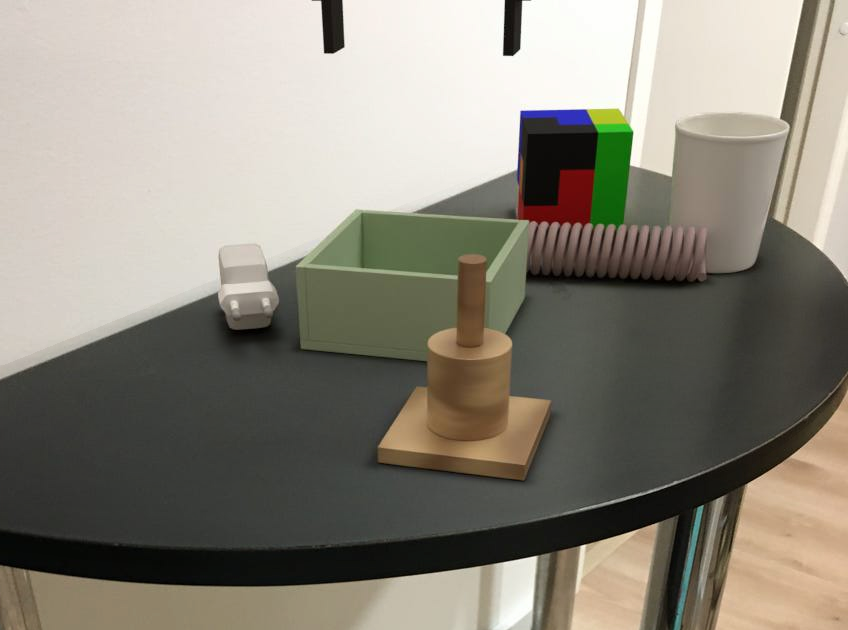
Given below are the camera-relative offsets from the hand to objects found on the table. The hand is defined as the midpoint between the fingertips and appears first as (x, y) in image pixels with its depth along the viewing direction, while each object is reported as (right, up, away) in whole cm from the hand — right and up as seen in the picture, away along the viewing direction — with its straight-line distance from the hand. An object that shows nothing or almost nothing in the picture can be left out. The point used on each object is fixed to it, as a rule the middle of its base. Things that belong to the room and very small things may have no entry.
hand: (421, 52), depth 82 cm
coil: (+18, -10, +21) cm, 29 cm away
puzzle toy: (+17, 0, +33) cm, 37 cm away
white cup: (+29, -7, +24) cm, 38 cm away
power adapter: (-14, -17, +12) cm, 25 cm away
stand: (+3, -30, -5) cm, 30 cm away
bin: (0, -16, +13) cm, 21 cm away
